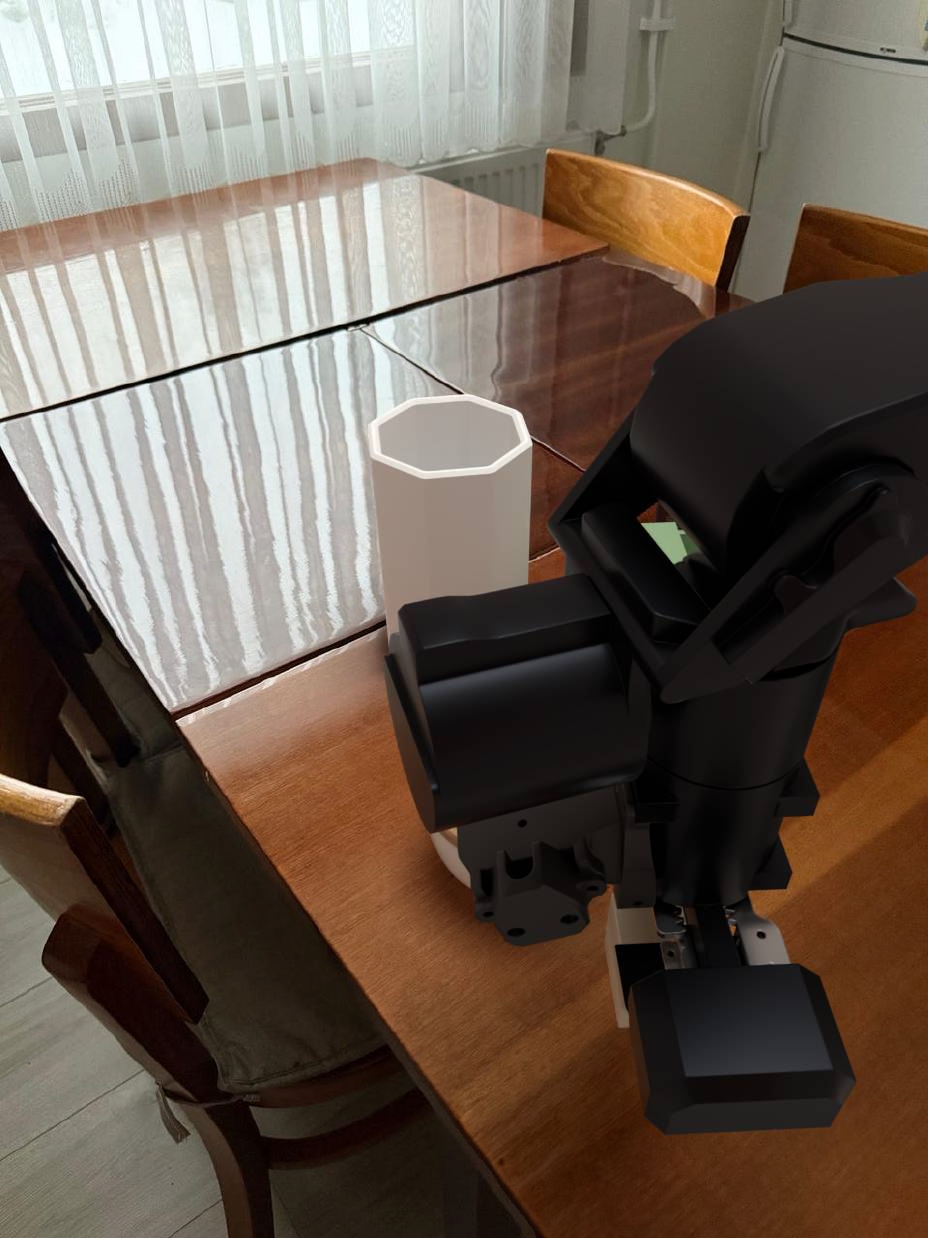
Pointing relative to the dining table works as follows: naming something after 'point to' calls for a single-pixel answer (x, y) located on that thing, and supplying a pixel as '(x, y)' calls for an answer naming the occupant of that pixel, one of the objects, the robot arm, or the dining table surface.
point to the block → (627, 930)
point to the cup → (450, 499)
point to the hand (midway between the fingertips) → (659, 969)
